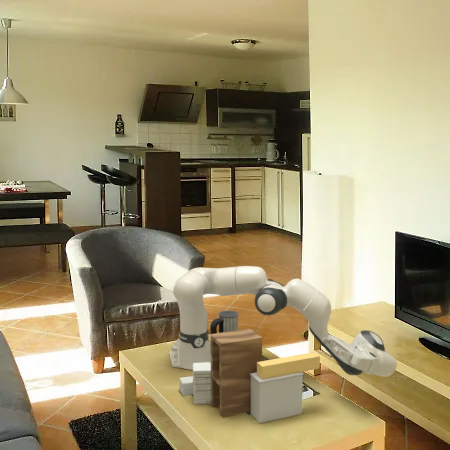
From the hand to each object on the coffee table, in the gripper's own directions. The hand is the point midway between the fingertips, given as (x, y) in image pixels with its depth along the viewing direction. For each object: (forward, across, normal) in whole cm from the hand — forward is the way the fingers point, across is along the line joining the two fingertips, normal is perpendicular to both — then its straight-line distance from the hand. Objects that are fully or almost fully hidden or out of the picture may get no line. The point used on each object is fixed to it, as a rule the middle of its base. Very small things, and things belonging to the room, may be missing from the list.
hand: (330, 345), depth 204 cm
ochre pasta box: (+11, -1, +13) cm, 17 cm away
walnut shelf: (+18, -9, +34) cm, 39 cm away
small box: (+28, -27, +40) cm, 56 cm away
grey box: (+9, 0, +28) cm, 30 cm away
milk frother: (-2, -60, +29) cm, 67 cm away
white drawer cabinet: (+25, -19, +38) cm, 50 cm away
